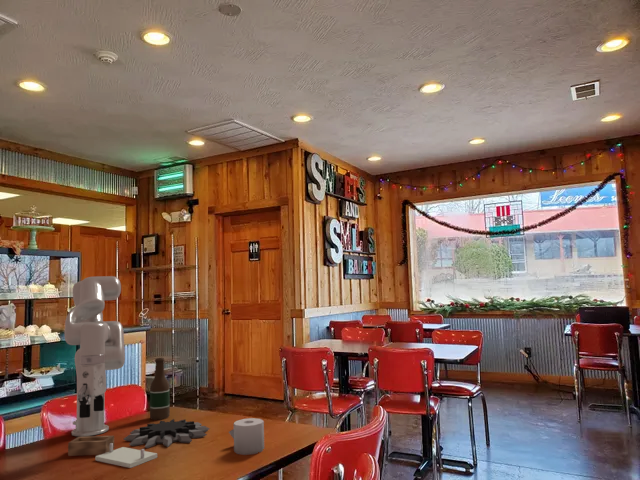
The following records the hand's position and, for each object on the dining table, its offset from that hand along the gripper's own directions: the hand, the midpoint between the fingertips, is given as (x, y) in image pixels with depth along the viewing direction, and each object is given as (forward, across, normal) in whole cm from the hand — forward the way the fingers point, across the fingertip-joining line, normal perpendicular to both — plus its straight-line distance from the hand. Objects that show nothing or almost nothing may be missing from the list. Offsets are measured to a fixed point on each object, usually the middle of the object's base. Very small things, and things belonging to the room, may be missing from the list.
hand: (92, 414), depth 162 cm
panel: (+12, -8, -14) cm, 20 cm away
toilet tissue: (+13, -2, -51) cm, 52 cm away
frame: (+12, +1, 0) cm, 12 cm away
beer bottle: (+11, +43, -8) cm, 46 cm away
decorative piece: (+12, +16, -20) cm, 28 cm away
